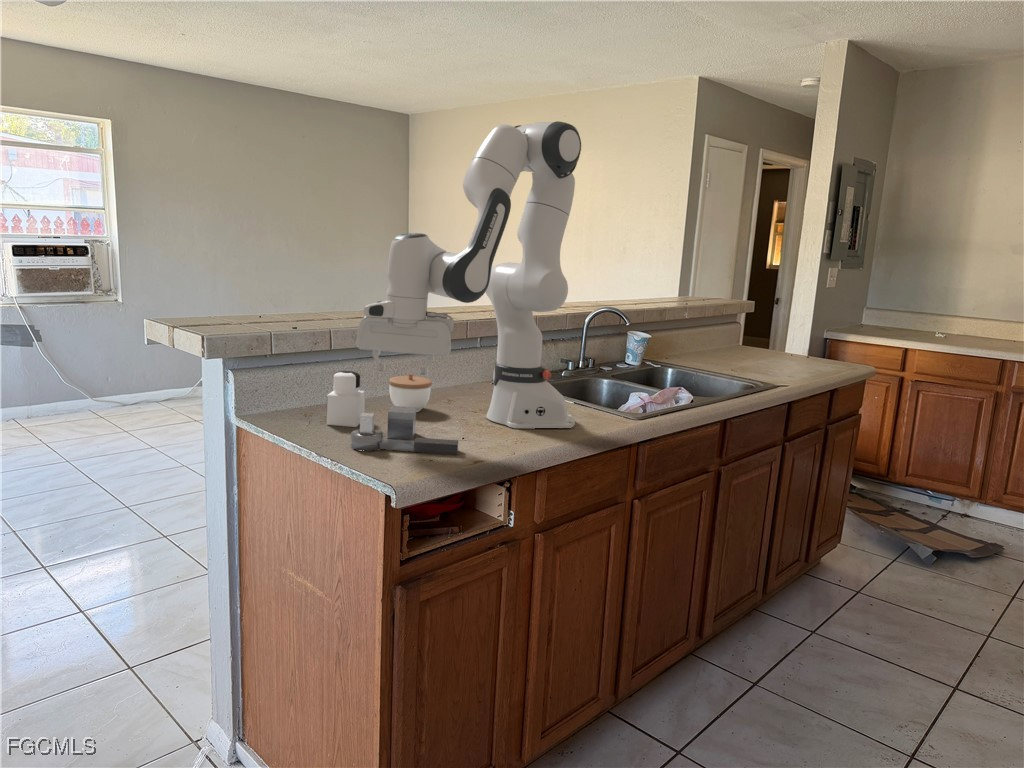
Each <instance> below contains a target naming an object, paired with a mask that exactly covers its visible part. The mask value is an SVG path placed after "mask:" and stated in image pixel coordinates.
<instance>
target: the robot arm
mask: <svg viewBox="0 0 1024 768" xmlns="http://www.w3.org/2000/svg"><path fill="white" fill-rule="evenodd" d="M581 151H582V139H581V136H580V133H579V131H578V129H577V128H576V127H575V126H574V125H573V124H570V123H567V122H564V121H553V122H551V121H538V122H536V121H535V122H534V123H528V124H523V125H522V124H521V125H520V124H519V125H515V126H513V125H509V124H499V125H496V126H495V127H494V128H492V129H491V131H489V133H488V134H487V135H486V136H485V138H484V140H483V141H482V142H481V144H480V145H479V147H478V149H477V150H476V152H475V154H474V156H473V158H472V159H471V161H470V163H469V165H468V167H467V170H466V172H465V175H464V177H463V181H462V182H463V183H462V189H463V192H464V194H465V197H466V199H467V200H468V202H469V203H470V204H471V205H472V206H474V208H476V209H477V211H478V217H477V220H476V224H475V225H474V228H473V230H472V233H471V237H470V239H469V242H468V244H467V246H466V248H465V249H464V250H463V251H461V252H459V253H455V252H450V251H449V252H448V251H447V250H446V249H443V248H441V247H440V246H439V245H437V244H436V243H435V242H433V241H432V240H431V239H430V238H429V235H428V234H425V233H421V232H418V233H417V232H415V233H410V232H409V233H402V234H399V235H397V236H395V237H394V238H393V239H392V241H391V244H390V247H389V252H388V260H387V261H388V263H387V277H388V278H387V279H388V285H387V286H388V287H387V290H386V292H385V293H386V295H385V300H379V301H377V302H372V303H369V304H366V305H365V306H364V307H363V315H364V317H362V318H361V319H360V321H359V324H358V327H357V333H356V340H355V341H356V342H355V344H356V346H357V348H358V349H359V350H365V351H366V350H367V351H372V357H373V359H374V361H375V363H376V371H377V372H385V370H386V363H385V362H382V360H381V358H380V355H381V352H386V353H387V352H389V353H403V354H410V355H411V354H413V355H425V356H426V360H428V361H427V363H426V364H425V365H421V366H420V376H428V374H429V367H430V365H431V364H432V363H433V362H434V359H435V356H436V357H447V356H449V354H450V353H451V349H452V348H451V347H452V341H451V340H452V339H451V337H452V336H451V334H452V333H453V332H454V328H455V320H454V319H453V317H452V316H450V315H449V314H448V313H446V312H441V313H440V312H435V311H428V301H429V294H434V295H437V296H440V297H445V298H449V299H453V300H455V301H458V302H461V303H466V304H470V303H473V302H476V301H478V300H479V299H480V298H481V297H483V295H485V294H486V296H487V297H488V298H489V301H490V302H491V304H492V307H493V311H494V316H495V320H496V326H497V347H496V349H497V350H496V351H497V352H496V354H497V355H496V362H495V363H494V368H493V374H492V376H493V378H492V382H493V383H492V384H493V390H492V391H493V392H492V396H491V400H490V405H489V407H488V410H487V414H486V416H485V417H486V418H487V420H489V421H491V422H494V423H497V424H501V425H505V426H508V427H509V428H513V429H535V428H571V427H573V426H574V425H575V426H576V420H575V417H574V416H573V415H571V414H569V413H568V408H567V407H568V406H567V401H566V400H565V397H564V395H563V394H562V393H560V392H559V391H558V389H556V388H555V387H554V386H553V384H550V382H548V380H550V378H551V377H552V373H551V371H549V370H548V369H547V368H546V367H544V366H543V365H541V363H542V350H543V349H542V348H543V334H542V331H541V330H540V329H539V327H538V325H537V323H536V321H535V318H534V313H546V312H552V311H557V310H558V309H560V308H561V307H562V306H564V303H565V302H566V300H567V297H568V295H569V285H568V281H567V278H566V277H565V275H564V273H563V271H562V267H561V248H562V242H563V239H564V237H565V236H564V235H565V231H566V228H567V225H568V220H569V217H570V214H571V209H572V206H573V202H574V195H575V189H576V188H575V187H576V179H575V176H574V174H573V173H574V171H575V169H576V168H577V164H578V162H579V159H580V156H581ZM522 172H527V173H531V177H532V184H531V188H530V189H529V194H528V196H527V199H526V201H525V205H524V208H523V212H522V215H521V218H520V222H519V224H518V225H519V226H518V228H517V233H516V235H517V239H518V241H519V243H521V246H522V259H521V263H518V262H510V261H509V262H504V263H500V264H495V265H493V263H494V259H495V257H496V253H497V251H498V248H499V246H500V242H501V240H502V237H503V234H504V231H505V229H506V225H507V223H508V220H509V216H510V213H511V208H512V202H511V201H512V200H511V195H512V193H513V191H514V189H515V186H516V184H517V182H518V179H519V177H520V175H521V173H522ZM533 312H534V313H533ZM575 426H574V427H575ZM574 427H573V428H574ZM571 429H572V428H571Z"/></svg>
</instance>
